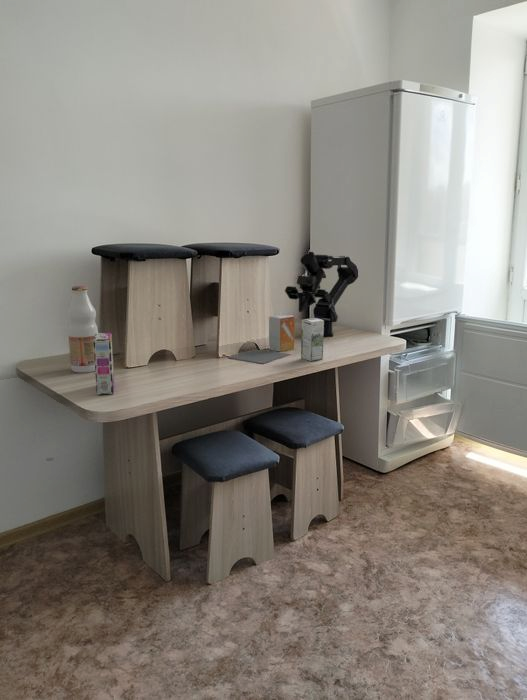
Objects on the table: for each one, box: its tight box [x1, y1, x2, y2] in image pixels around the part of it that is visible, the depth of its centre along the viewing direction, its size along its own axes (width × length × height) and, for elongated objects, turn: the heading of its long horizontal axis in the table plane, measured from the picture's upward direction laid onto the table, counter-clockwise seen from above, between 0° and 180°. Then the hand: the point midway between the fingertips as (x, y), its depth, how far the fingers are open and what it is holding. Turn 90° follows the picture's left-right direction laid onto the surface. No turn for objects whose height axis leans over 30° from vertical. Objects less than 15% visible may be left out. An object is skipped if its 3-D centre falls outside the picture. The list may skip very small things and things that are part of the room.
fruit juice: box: [66, 285, 99, 374], centre depth 189 cm, size 9×9×28 cm
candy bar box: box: [93, 332, 115, 396], centre depth 168 cm, size 11×5×16 cm, turn 13°
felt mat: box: [227, 348, 291, 365], centre depth 209 cm, size 17×16×1 cm
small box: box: [268, 313, 296, 353], centre depth 219 cm, size 8×6×13 cm
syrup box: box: [300, 317, 324, 362], centre depth 203 cm, size 6×6×14 cm
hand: (299, 311), depth 227 cm, fingers closed
